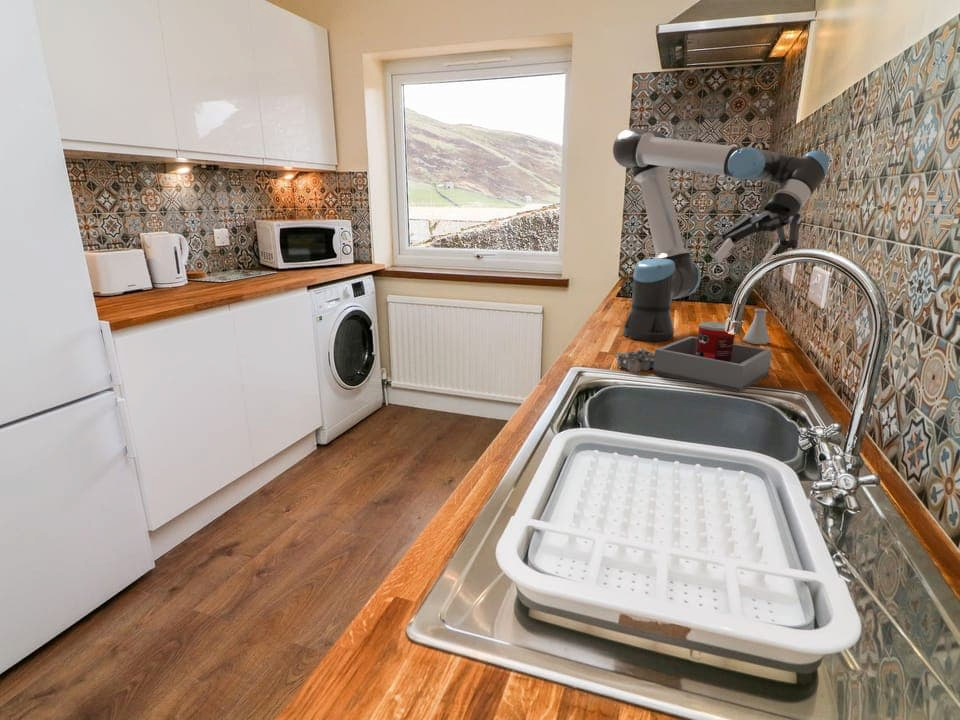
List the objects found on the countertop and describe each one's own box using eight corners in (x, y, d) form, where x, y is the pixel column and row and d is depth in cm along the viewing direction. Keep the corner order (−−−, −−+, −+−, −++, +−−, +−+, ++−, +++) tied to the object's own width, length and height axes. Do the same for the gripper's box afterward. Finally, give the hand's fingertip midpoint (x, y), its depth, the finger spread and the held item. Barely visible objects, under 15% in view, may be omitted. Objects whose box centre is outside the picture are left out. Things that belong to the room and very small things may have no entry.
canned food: (696, 363, 136) (701, 320, 133) (731, 368, 132) (737, 323, 129) (691, 370, 129) (696, 325, 126) (727, 376, 126) (734, 329, 123)
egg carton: (631, 374, 131) (633, 358, 130) (611, 366, 137) (612, 350, 136) (664, 368, 136) (666, 352, 134) (643, 361, 142) (644, 346, 141)
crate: (687, 358, 144) (690, 336, 143) (768, 373, 131) (772, 349, 130) (652, 373, 130) (655, 349, 129) (739, 392, 117) (743, 366, 116)
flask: (754, 345, 159) (759, 312, 156) (737, 340, 165) (742, 307, 163) (775, 344, 160) (780, 311, 158) (757, 339, 167) (762, 307, 164)
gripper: (840, 215, 132) (790, 279, 129) (748, 211, 153) (704, 266, 150) (832, 191, 128) (781, 258, 125) (739, 190, 149) (693, 247, 146)
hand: (739, 262), depth 138 cm, fingers open, 13 cm apart
